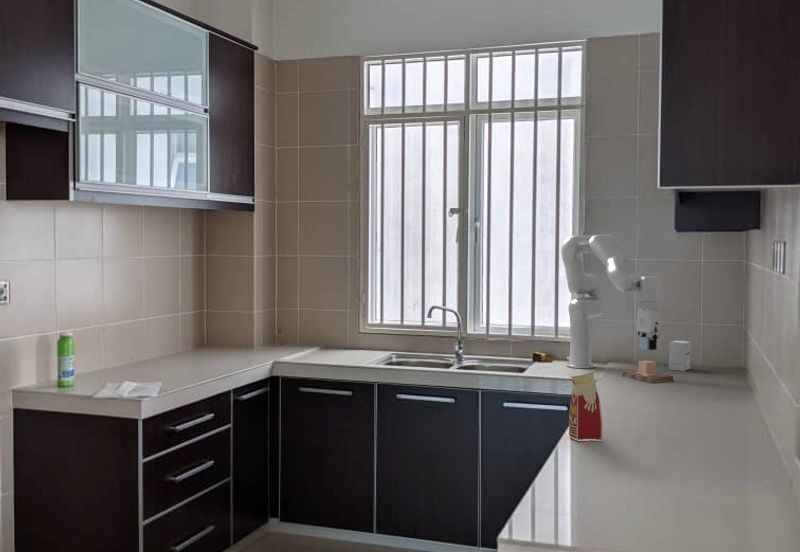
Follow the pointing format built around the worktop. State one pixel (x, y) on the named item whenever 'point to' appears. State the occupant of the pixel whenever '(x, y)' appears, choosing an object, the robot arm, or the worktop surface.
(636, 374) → the board
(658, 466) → the worktop surface
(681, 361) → the supplement box
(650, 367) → the terracotta block
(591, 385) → the milk carton
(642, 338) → the slate block
